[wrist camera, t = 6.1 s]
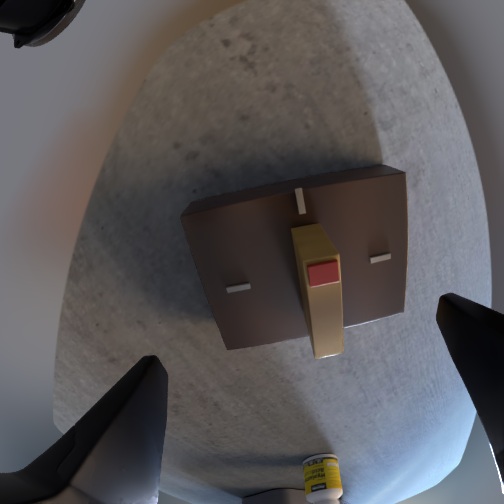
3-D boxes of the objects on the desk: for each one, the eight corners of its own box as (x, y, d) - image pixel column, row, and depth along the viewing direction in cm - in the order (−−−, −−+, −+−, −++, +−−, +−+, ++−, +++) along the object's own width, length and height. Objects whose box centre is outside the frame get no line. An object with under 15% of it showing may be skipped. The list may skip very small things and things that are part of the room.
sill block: (230, 325, 22) (227, 353, 19) (189, 200, 18) (177, 215, 15) (388, 291, 21) (405, 315, 18) (384, 162, 16) (407, 170, 14)
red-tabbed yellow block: (328, 310, 18) (344, 356, 14) (304, 315, 18) (315, 362, 14) (319, 222, 15) (341, 256, 11) (290, 228, 15) (303, 263, 11)
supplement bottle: (321, 450, 32) (329, 506, 23) (343, 455, 34) (353, 506, 25) (294, 462, 34) (299, 515, 25) (317, 466, 35) (324, 515, 27)
